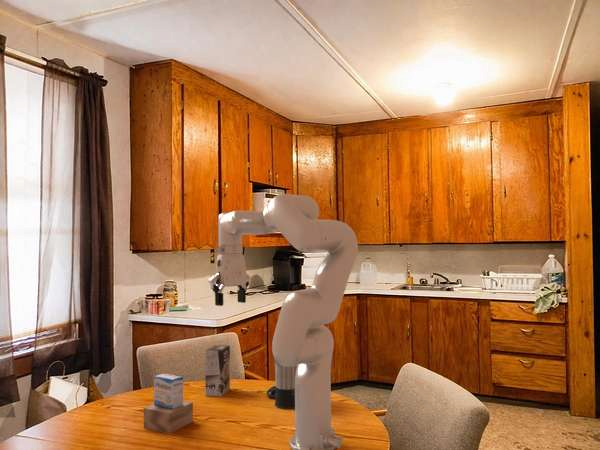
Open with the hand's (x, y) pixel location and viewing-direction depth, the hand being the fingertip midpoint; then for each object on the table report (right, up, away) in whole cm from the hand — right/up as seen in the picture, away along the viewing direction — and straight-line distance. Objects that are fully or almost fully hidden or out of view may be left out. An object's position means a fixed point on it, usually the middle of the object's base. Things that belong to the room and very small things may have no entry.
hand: (230, 303), depth 152 cm
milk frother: (+17, -35, +8) cm, 39 cm away
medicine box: (-17, -29, -11) cm, 35 cm away
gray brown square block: (-17, -34, -11) cm, 40 cm away
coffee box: (-7, -36, +19) cm, 41 cm away
